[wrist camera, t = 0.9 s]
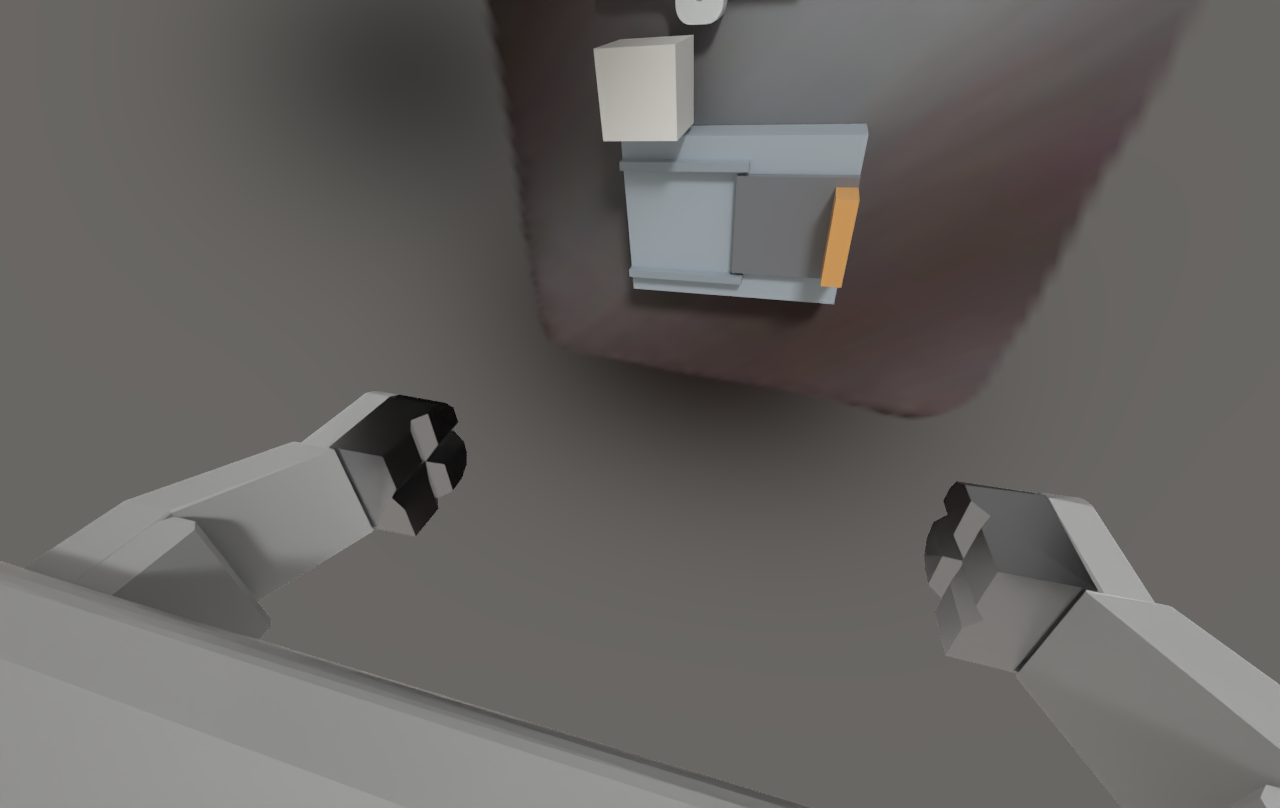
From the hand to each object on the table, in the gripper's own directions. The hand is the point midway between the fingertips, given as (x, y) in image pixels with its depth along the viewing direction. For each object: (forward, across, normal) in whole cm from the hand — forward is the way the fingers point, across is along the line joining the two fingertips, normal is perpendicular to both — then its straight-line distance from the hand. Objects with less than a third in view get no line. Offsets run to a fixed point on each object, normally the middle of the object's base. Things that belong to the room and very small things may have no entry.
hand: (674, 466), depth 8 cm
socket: (+36, +2, +5) cm, 36 cm away
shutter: (+33, -2, +5) cm, 33 cm away
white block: (+35, +8, -4) cm, 36 cm away
